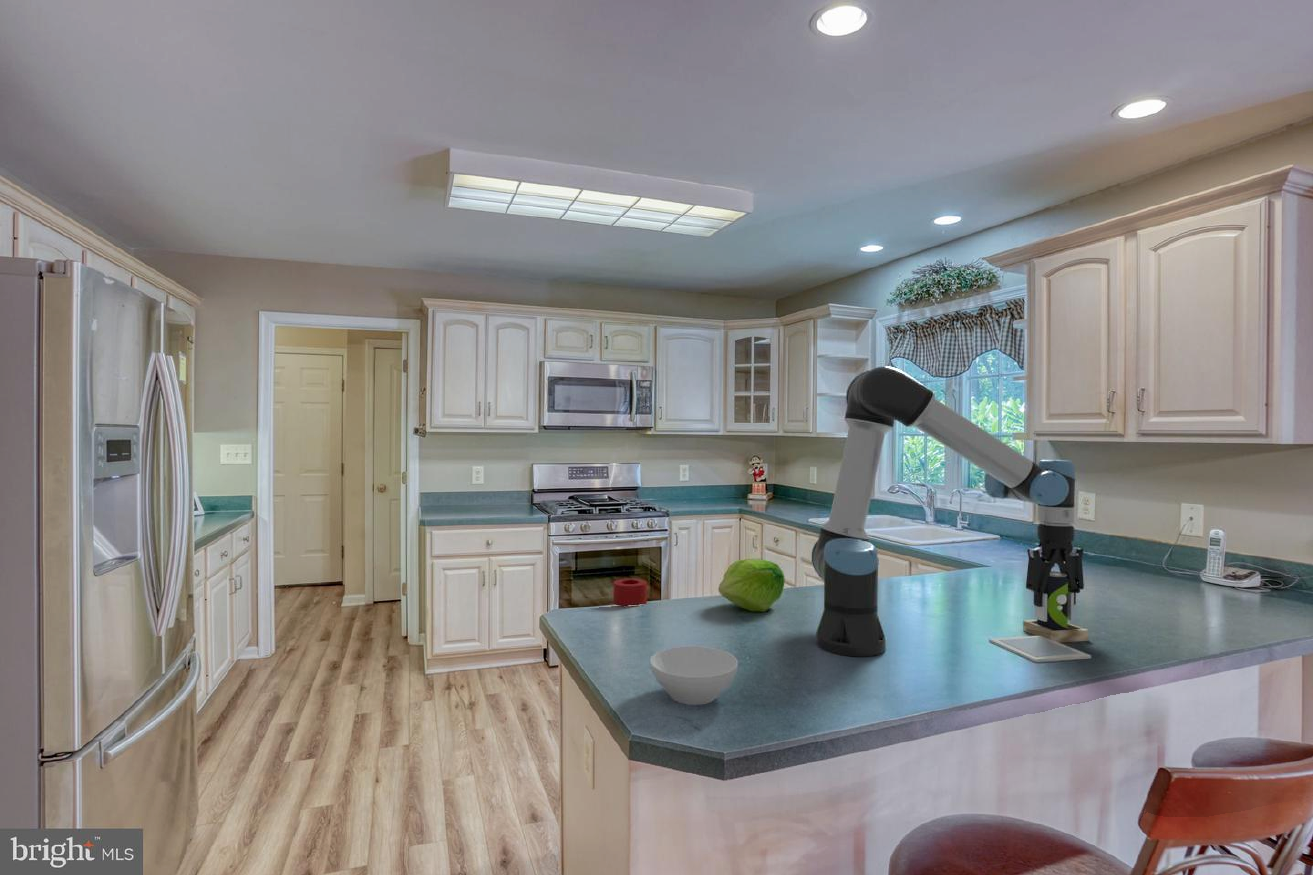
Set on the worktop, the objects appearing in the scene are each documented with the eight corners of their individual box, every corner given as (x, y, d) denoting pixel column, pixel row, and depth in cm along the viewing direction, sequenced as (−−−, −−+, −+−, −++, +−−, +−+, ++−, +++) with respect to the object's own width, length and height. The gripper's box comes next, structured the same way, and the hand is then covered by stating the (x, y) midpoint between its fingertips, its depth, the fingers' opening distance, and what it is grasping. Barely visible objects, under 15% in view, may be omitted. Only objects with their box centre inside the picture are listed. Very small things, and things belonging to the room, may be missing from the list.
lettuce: (705, 606, 178) (706, 557, 178) (765, 599, 186) (766, 552, 186) (733, 620, 164) (734, 568, 164) (797, 612, 173) (797, 561, 173)
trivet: (1034, 662, 135) (1035, 659, 135) (988, 641, 149) (988, 638, 149) (1091, 658, 138) (1091, 655, 138) (1040, 637, 152) (1040, 634, 152)
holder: (1054, 642, 148) (1054, 632, 148) (1023, 630, 157) (1023, 620, 157) (1088, 640, 150) (1088, 630, 150) (1056, 628, 159) (1056, 618, 159)
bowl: (642, 714, 109) (642, 673, 109) (656, 679, 125) (657, 643, 125) (736, 721, 107) (736, 679, 107) (739, 684, 122) (739, 648, 122)
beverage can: (1034, 630, 158) (1035, 569, 158) (1063, 632, 156) (1064, 571, 156) (1040, 637, 152) (1041, 574, 152) (1070, 640, 150) (1071, 576, 150)
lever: (644, 610, 174) (645, 586, 174) (610, 609, 175) (611, 585, 175) (651, 594, 192) (651, 572, 192) (620, 593, 193) (620, 571, 193)
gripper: (1032, 526, 148) (1031, 625, 148) (1103, 525, 152) (1102, 621, 152) (1008, 522, 155) (1007, 616, 155) (1077, 521, 159) (1076, 613, 159)
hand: (1054, 619), depth 153 cm, fingers open, 7 cm apart
